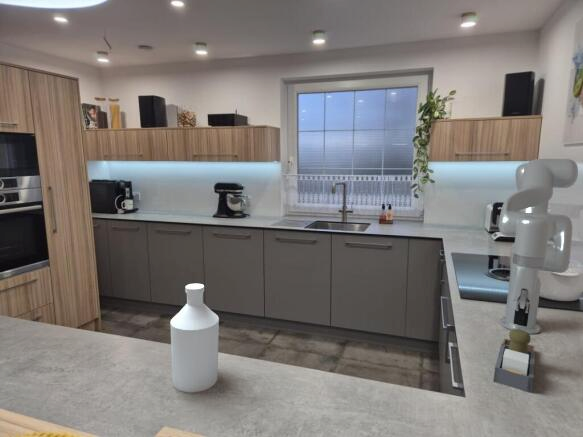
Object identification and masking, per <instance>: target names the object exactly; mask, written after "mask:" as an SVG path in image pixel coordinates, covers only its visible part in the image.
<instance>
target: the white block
mask: <svg viewBox="0 0 583 437" xmlns="http://www.w3.org/2000/svg"><path fill="white" fill-rule="evenodd" d="M528 360H529V355H528V354H524V353H520V352H517V351H513V350H509V349H505V352H504V356H503V364H502V369H506V370H507V369H508V370H511V371H515V372H518V373H521V374H523V375H526V376H527V368H528Z"/></svg>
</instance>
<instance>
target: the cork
mask: <svg viewBox="0 0 583 437" xmlns="http://www.w3.org/2000/svg"><path fill="white" fill-rule="evenodd" d="M508 336H509V337H508V338H509V340H511V342H510V345H509V350H513V351H517V352H520V353H524V354H528V348H527V344H528V345H529V344H530V343H531V335H530V334H529V333H527V332H526V331H523V330H520V329H513V330H510V331H509V333H508Z"/></svg>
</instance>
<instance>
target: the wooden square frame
mask: <svg viewBox="0 0 583 437" xmlns="http://www.w3.org/2000/svg"><path fill="white" fill-rule="evenodd" d="M510 342H511V340H510V339H508V338H503V341H502V344H505V345H510ZM527 348H528V350H529V351H533V352H536V350H535V348H536V346H535V345H531V344H529V343H528V344H527Z"/></svg>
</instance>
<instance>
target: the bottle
mask: <svg viewBox="0 0 583 437" xmlns="http://www.w3.org/2000/svg"><path fill="white" fill-rule="evenodd" d="M184 291H185V293H186V304H185V305H184V306H183V307H182V308H181V310H180V311H179V312H177V313H176V314H175V315H174V316H173V317H172V319H171V320H170V344H171V345H170V349H171V375H172V376H171V377H172V378H171V379H172V380H171V381H172V386H173V388H175V389H176V390H178V391H180V392H183V393H199V392H202V391H205V390H208V389H210V388H212V387H213V386H214V385H215V384H216V383H217V381H218V376H219V375H218V374H219V373H218V368H219V367H218V366H219V332H220V330H219V329H220V325H219V322H220V318H219V316H218V315H217V314H216V313H215V312H214V311H212V310H211V309H210V308H209V307H208V306H207V305H206V304H205V303H204V292H205V285H204V284H202V283H189V284H187V285H185V289H184Z"/></svg>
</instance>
